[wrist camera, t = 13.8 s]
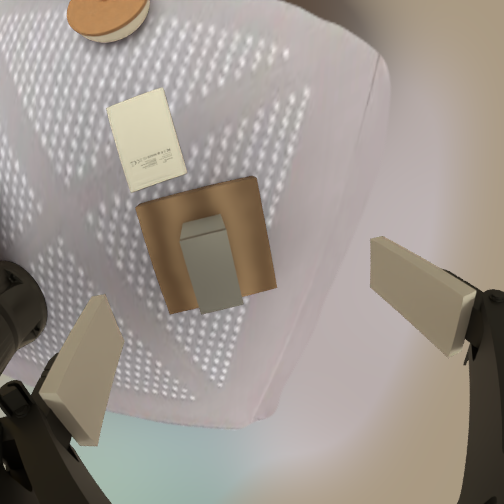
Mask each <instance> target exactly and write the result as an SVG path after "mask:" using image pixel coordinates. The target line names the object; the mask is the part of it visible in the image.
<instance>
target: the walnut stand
mask: <svg viewBox="0 0 504 504" xmlns="http://www.w3.org/2000/svg"><path fill="white" fill-rule="evenodd" d="M136 212H137V216H138V219H139V223H140V226H141V229H142V233H143V236H144V239H145V243H146V246H147V249H148V252H149V255H150V258H151V261H152V265H153V268H154V271H155V274H156V276H157V279H158V282H159V285H160V288H161V291H162V294H163V297H164V299H165V302H166V305H167V307H168V310H169V313H170V314H174V313H178V312H182V311H187V310H191V309H195V308H199V306H198V303H197V299H196V296H195V293H194V290H193V286H192V283H191V280H190V276H189V273H188V270H187V266H186V263H185V259H184V256H183V252H182V249H181V245H180V242H179V241H180V235H181V230H182V225H183V223H186V222H190V221H194V220H198V219H202V218H206V217H210V216H214V215H218V214H221V217H222V219H223V222H224V225H225V228H226V230H227V235H228V239H229V244H230V248H231V252H232V257H233V261H234V265H235V270H236V274H237V278H238V283H239V287H240V291H241V295H242V297H244V296H248V295H252V294H255V293H259V292H263V291H267V290H271V289H274V288H277V284H276V279H275V273H274V268H273V262H272V257H271V251H270V246H269V240H268V235H267V230H266V224H265V219H264V214H263V209H262V203H261V198H260V193H259V188H258V183H257V178H256V177H254V176H249V177H244V178H239V179H235V180H230V181H226V182H222V183H217V184H213V185H209V186H205V187H201V188H196V189H192V190H188V191H185V192H181V193H177V194H173V195H169V196H165V197H162V198H158V199H154V200H151V201H147V202H144V203H140V204H139V205H138V206H137V207H136Z"/></svg>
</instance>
